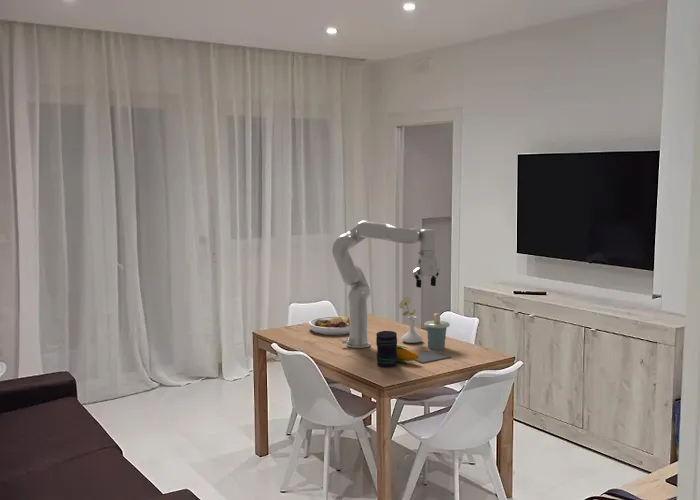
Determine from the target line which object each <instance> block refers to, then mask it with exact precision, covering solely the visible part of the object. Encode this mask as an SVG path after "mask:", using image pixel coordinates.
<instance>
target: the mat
mask: <svg viewBox="0 0 700 500" xmlns="http://www.w3.org/2000/svg"><path fill="white" fill-rule="evenodd" d="M415 353H416V354H418V355H419V358H418V359H415V360H414V361H415V362H418V363H420V364H422V363H423V364H427V363H431V362H432V363H433V362H437V361H441V359H442V360H446V358H447V359H451V358H452V356H451V355H448V354H445V353H442V352H439V351H438V350H432V349H430V350H428V351H427V350H425V351H420V352H415Z"/></svg>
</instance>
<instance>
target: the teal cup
mask: <svg viewBox="0 0 700 500" xmlns="http://www.w3.org/2000/svg"><path fill="white" fill-rule="evenodd" d="M447 328H448V327H447ZM447 328H429V327H426V330H427V331H426V332H427V348H428V349H429V350H434V351H441V350H444V349H445V347H446V346H445V345H446V335H447Z"/></svg>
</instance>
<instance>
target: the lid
mask: <svg viewBox="0 0 700 500" xmlns="http://www.w3.org/2000/svg"><path fill="white" fill-rule="evenodd" d="M424 327H426V328H427V327H429V328H449V327H450V322H448V321H443V320H441V313H437V312H435V313H433V320H428V321H425V322H424Z"/></svg>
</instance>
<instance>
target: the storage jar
mask: <svg viewBox="0 0 700 500" xmlns="http://www.w3.org/2000/svg"><path fill="white" fill-rule="evenodd" d="M375 336H376V339H375V341H376V343H375V344H376V365H377V366H378V367H379V368H380V367H381V368H385V369H386V368H387V369H389V368H393V367H396V366H397V365H398V361H397V359H398V358H397V345H398V336H397V332H395V331H393V330H382V331H377V333H376V335H375Z"/></svg>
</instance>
